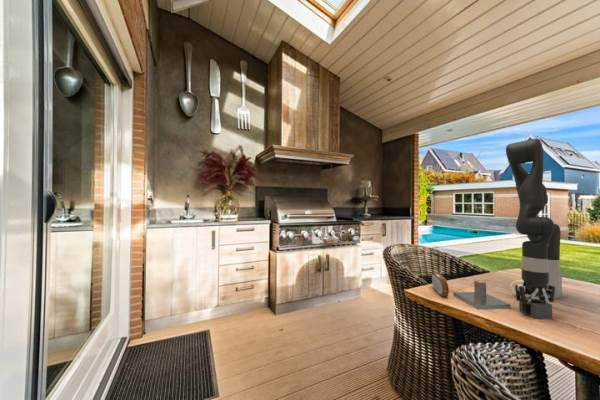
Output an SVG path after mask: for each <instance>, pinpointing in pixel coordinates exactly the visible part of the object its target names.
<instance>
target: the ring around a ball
mask: <svg viewBox="0 0 600 400" xmlns="http://www.w3.org/2000/svg"><path fill="white" fill-rule="evenodd" d="M518 283H519V284H518ZM523 283H524V281H523V279H522V280H521V279H517V280H514V281H512V282H511V284H510V290H511V292H512V294H514V295H515V296H516V290H515V286H516V285H518V286H522V285H523ZM527 295H528V294H527ZM528 296H530V295H528ZM520 298H521V296H520Z"/></svg>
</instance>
